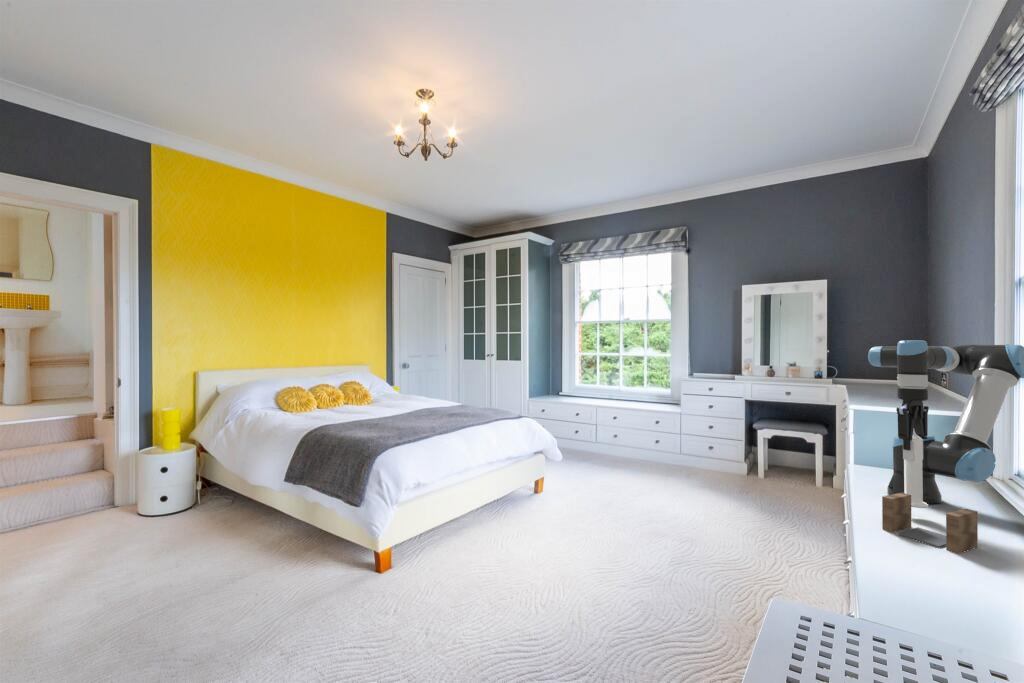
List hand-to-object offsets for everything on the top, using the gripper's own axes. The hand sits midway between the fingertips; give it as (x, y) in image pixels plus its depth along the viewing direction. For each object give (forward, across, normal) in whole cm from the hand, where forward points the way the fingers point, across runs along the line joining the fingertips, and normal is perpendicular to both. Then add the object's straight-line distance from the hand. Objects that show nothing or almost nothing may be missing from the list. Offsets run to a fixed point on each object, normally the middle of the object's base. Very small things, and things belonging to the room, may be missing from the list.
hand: (913, 459), depth 151 cm
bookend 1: (+19, +15, +3) cm, 25 cm away
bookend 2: (+19, +15, +19) cm, 31 cm away
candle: (+15, 0, 0) cm, 15 cm away
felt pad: (+19, +15, +11) cm, 27 cm away
